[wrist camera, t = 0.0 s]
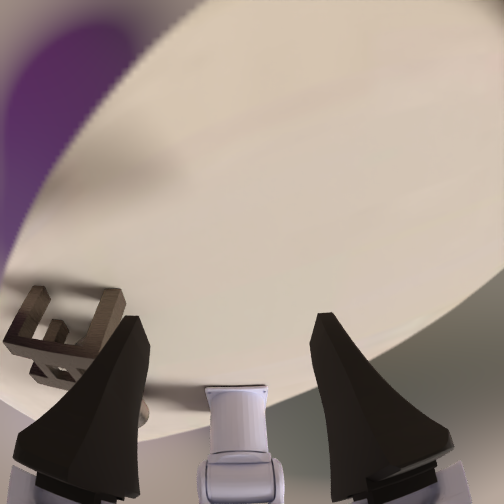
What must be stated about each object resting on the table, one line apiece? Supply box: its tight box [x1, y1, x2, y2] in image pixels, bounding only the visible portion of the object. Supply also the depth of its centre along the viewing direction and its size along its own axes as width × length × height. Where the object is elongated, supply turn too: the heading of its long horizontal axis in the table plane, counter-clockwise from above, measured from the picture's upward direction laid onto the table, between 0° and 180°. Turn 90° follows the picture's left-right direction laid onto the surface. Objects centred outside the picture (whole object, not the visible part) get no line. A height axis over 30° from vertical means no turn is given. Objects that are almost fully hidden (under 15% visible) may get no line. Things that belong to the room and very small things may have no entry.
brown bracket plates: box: [3, 286, 126, 391], centre depth 22 cm, size 7×11×7 cm, turn 89°
